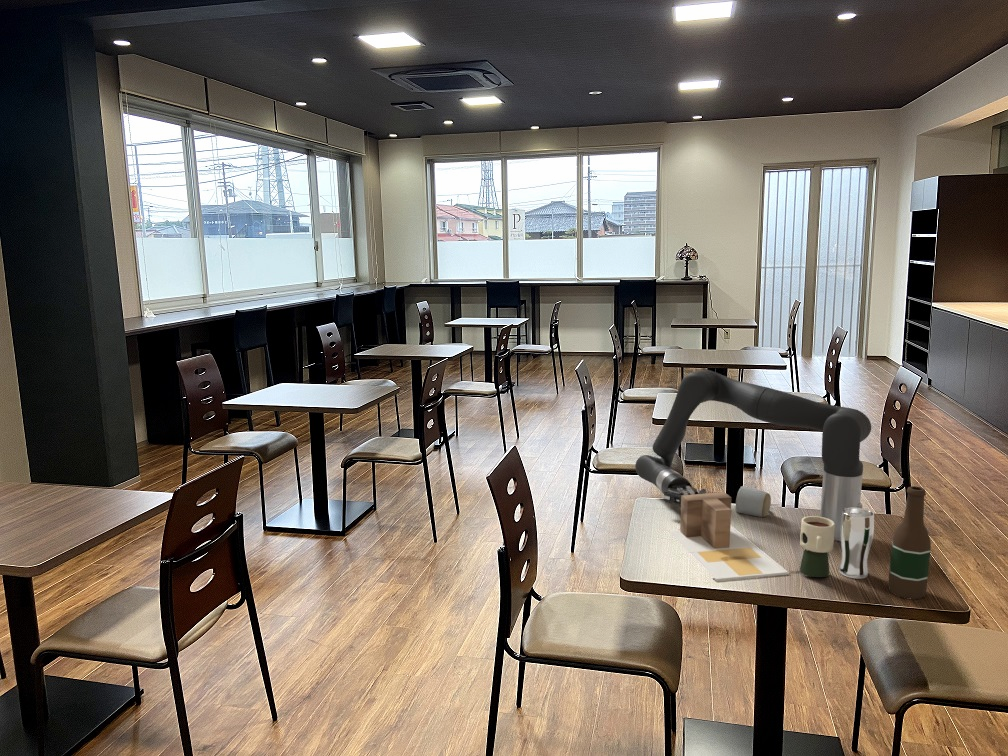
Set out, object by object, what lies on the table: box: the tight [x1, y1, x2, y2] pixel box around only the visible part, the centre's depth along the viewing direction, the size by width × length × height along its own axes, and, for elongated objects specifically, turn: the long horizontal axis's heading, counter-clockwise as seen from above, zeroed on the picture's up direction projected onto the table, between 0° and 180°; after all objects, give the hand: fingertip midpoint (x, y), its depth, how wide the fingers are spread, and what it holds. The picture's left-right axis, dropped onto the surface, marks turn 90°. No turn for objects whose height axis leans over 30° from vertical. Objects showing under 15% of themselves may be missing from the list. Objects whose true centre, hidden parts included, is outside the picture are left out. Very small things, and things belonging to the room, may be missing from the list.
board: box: [667, 525, 789, 582], centre depth 190 cm, size 29×18×1 cm, turn 10°
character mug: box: [799, 515, 835, 578], centre depth 176 cm, size 11×7×13 cm, turn 162°
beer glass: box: [838, 507, 875, 580], centre depth 176 cm, size 7×7×15 cm
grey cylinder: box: [735, 485, 772, 518], centre depth 215 cm, size 11×8×8 cm
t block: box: [679, 491, 732, 549], centre depth 196 cm, size 12×12×10 cm
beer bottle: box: [888, 485, 932, 600], centre depth 166 cm, size 8×8×24 cm
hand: (698, 506), depth 204 cm, fingers closed
